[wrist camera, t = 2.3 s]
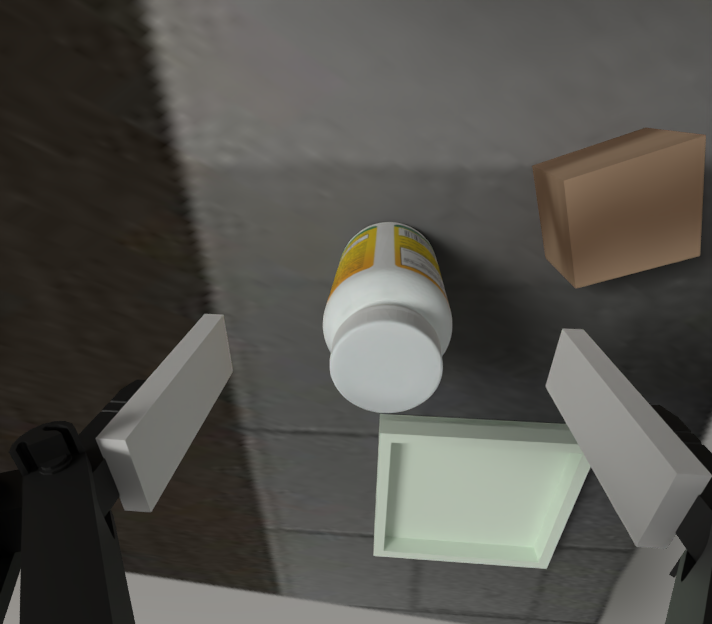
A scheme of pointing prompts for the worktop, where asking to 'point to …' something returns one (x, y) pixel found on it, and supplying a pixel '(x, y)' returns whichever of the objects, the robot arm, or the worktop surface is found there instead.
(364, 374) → the supplement bottle
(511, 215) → the worktop surface
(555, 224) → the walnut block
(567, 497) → the tray
